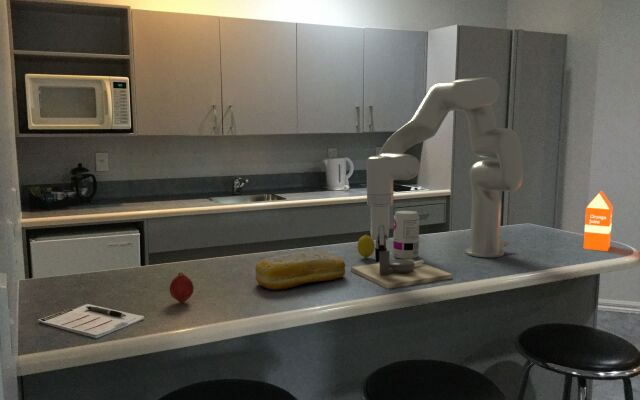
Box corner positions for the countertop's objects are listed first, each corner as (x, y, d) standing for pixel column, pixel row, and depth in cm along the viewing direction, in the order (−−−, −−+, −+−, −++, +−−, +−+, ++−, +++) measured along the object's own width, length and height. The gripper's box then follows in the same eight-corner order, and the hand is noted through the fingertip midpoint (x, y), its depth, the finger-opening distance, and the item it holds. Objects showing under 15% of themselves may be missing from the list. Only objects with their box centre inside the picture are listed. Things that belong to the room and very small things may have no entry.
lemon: (373, 261, 179) (373, 236, 178) (356, 260, 180) (356, 236, 179) (375, 256, 184) (375, 233, 183) (358, 256, 186) (358, 232, 184)
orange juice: (610, 246, 199) (614, 190, 196) (607, 251, 191) (611, 193, 188) (586, 243, 203) (589, 189, 200) (582, 248, 196) (586, 192, 193)
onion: (172, 299, 142) (171, 268, 140) (195, 298, 142) (194, 268, 141) (168, 307, 136) (166, 275, 135) (192, 306, 136) (191, 274, 135)
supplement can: (390, 258, 182) (391, 213, 180) (396, 252, 190) (397, 209, 188) (415, 260, 179) (416, 214, 177) (420, 254, 187) (421, 211, 185)
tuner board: (410, 262, 177) (410, 258, 177) (452, 278, 159) (452, 273, 159) (350, 270, 167) (350, 266, 167) (387, 288, 150) (387, 284, 149)
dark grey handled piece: (412, 260, 173) (412, 240, 172) (433, 265, 167) (434, 244, 166) (370, 271, 161) (370, 249, 160) (391, 277, 155) (392, 254, 154)
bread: (247, 284, 155) (246, 256, 154) (324, 269, 170) (324, 244, 169) (271, 296, 144) (271, 267, 143) (351, 279, 159) (351, 252, 158)
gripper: (366, 195, 167) (367, 254, 170) (368, 204, 152) (369, 268, 155) (391, 194, 166) (391, 254, 169) (395, 203, 152) (396, 268, 155)
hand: (381, 261), depth 162 cm, fingers closed
